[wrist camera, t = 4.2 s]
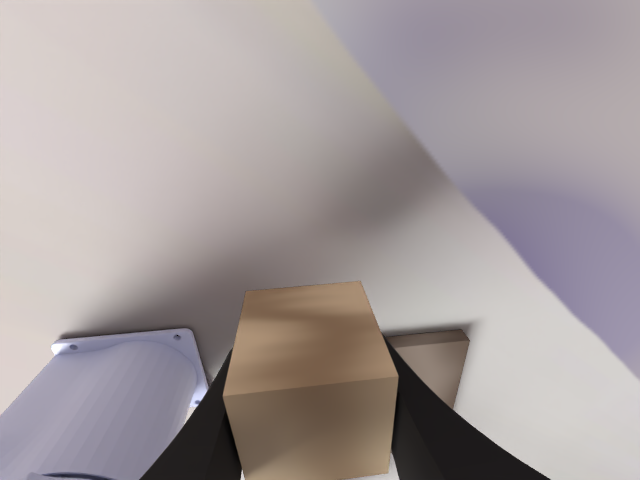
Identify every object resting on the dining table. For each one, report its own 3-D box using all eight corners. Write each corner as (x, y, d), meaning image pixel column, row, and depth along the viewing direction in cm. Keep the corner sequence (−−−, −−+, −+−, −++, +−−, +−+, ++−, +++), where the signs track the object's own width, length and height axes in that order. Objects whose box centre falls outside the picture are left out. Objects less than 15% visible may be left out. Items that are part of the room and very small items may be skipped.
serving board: (282, 453, 29) (281, 467, 28) (266, 348, 23) (265, 361, 22) (438, 434, 30) (443, 446, 29) (461, 329, 24) (469, 340, 23)
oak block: (260, 373, 15) (248, 492, 10) (245, 291, 13) (222, 396, 8) (358, 362, 15) (388, 473, 11) (360, 281, 13) (398, 376, 9)
